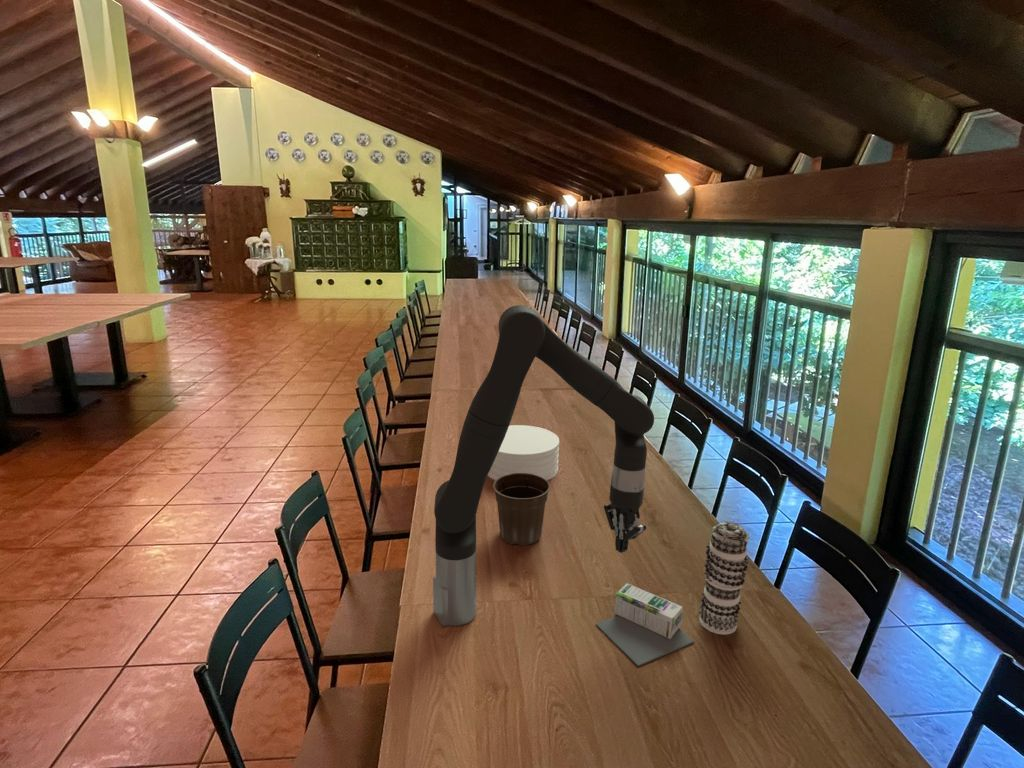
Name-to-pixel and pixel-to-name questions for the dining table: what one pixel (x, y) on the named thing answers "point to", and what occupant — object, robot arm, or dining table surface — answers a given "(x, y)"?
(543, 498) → the plant pot
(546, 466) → the plate stack
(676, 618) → the syrup box
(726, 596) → the decorative candle
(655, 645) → the mat
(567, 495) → the dining table surface
